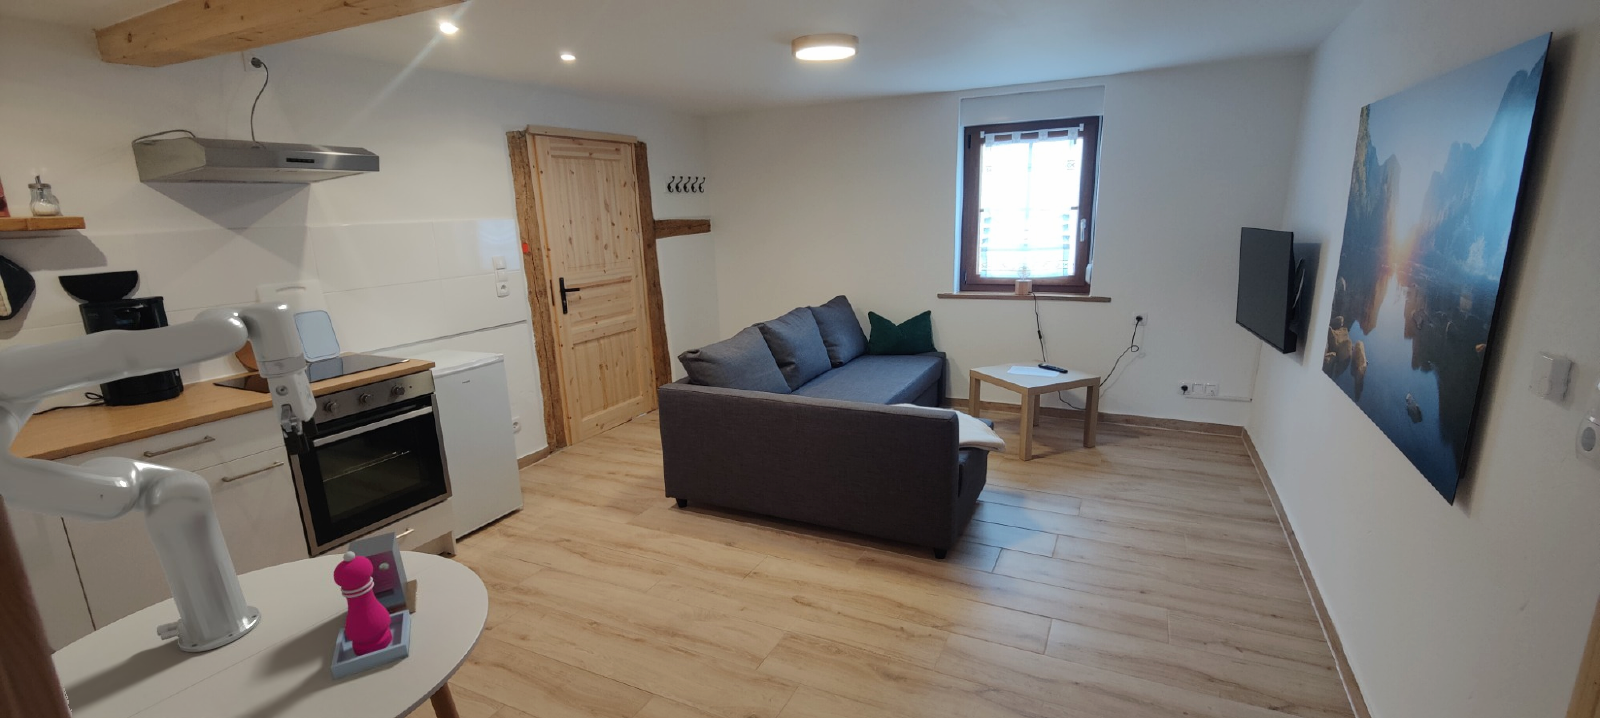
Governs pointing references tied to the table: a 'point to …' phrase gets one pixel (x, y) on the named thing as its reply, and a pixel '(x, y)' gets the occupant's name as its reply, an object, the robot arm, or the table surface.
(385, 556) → the control unit
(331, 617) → the table surface
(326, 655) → the table surface
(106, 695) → the table surface
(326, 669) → the table surface
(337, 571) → the pepper mill
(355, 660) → the parts tray
